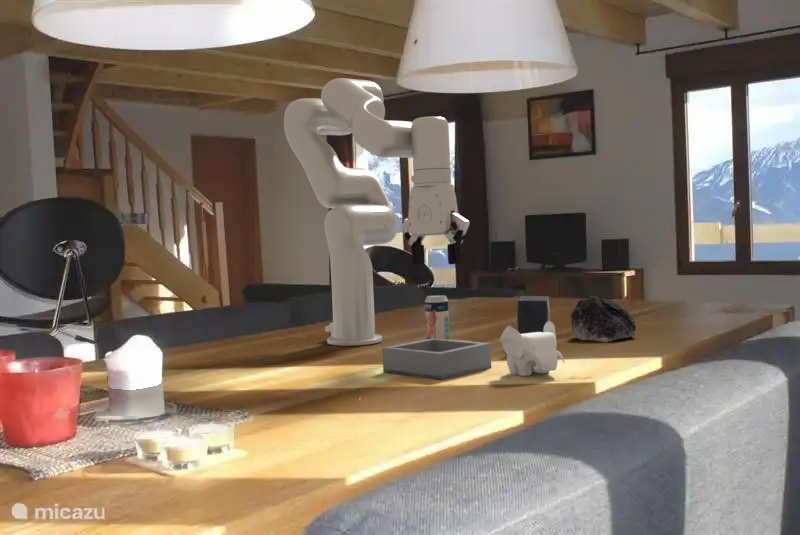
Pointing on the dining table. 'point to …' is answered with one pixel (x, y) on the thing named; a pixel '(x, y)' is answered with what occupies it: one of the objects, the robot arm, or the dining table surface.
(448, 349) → the tray
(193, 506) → the dining table surface
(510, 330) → the elephant figurine
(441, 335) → the beer can
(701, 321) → the dining table surface
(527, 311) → the small box
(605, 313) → the crystal cluster
